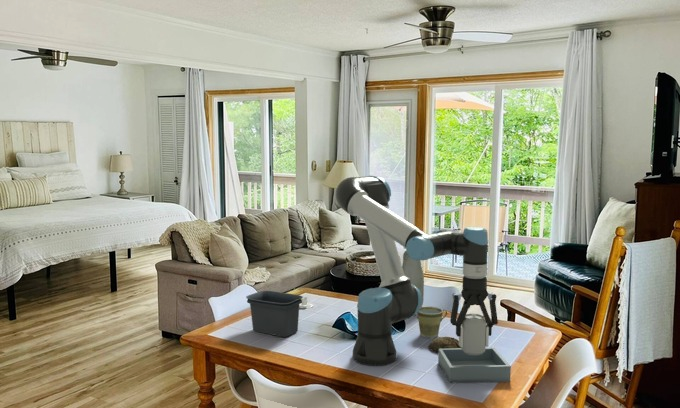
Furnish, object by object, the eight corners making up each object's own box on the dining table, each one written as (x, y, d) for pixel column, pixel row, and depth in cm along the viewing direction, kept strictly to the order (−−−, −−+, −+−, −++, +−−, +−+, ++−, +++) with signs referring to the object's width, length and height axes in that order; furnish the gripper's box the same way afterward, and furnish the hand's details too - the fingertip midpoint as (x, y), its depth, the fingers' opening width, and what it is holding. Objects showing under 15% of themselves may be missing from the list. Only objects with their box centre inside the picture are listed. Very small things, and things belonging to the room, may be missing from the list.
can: (461, 355, 175) (462, 318, 174) (461, 347, 183) (461, 311, 182) (485, 357, 174) (486, 320, 173) (484, 348, 181) (485, 312, 180)
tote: (449, 383, 171) (449, 367, 170) (438, 362, 187) (438, 348, 186) (510, 381, 172) (510, 366, 171) (493, 361, 188) (494, 347, 187)
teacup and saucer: (305, 310, 248) (305, 301, 248) (291, 307, 252) (291, 299, 252) (316, 306, 255) (316, 297, 255) (302, 303, 260) (302, 294, 259)
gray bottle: (409, 306, 252) (410, 246, 249) (427, 311, 244) (428, 249, 241) (395, 311, 245) (395, 249, 242) (413, 316, 238) (413, 252, 235)
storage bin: (243, 332, 219) (242, 296, 217) (267, 321, 232) (266, 287, 231) (286, 341, 208) (285, 304, 206) (309, 329, 221) (309, 294, 220)
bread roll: (423, 348, 201) (424, 335, 200) (447, 341, 208) (447, 328, 208) (450, 359, 191) (450, 345, 190) (474, 351, 198) (474, 338, 197)
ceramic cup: (425, 341, 208) (425, 315, 206) (411, 333, 217) (411, 308, 216) (454, 336, 213) (454, 311, 212) (439, 328, 222) (439, 304, 221)
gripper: (445, 279, 172) (444, 350, 174) (510, 278, 173) (508, 349, 175) (440, 273, 179) (439, 342, 182) (502, 272, 180) (500, 340, 182)
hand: (473, 345), depth 178 cm, fingers closed on can, 7 cm apart
